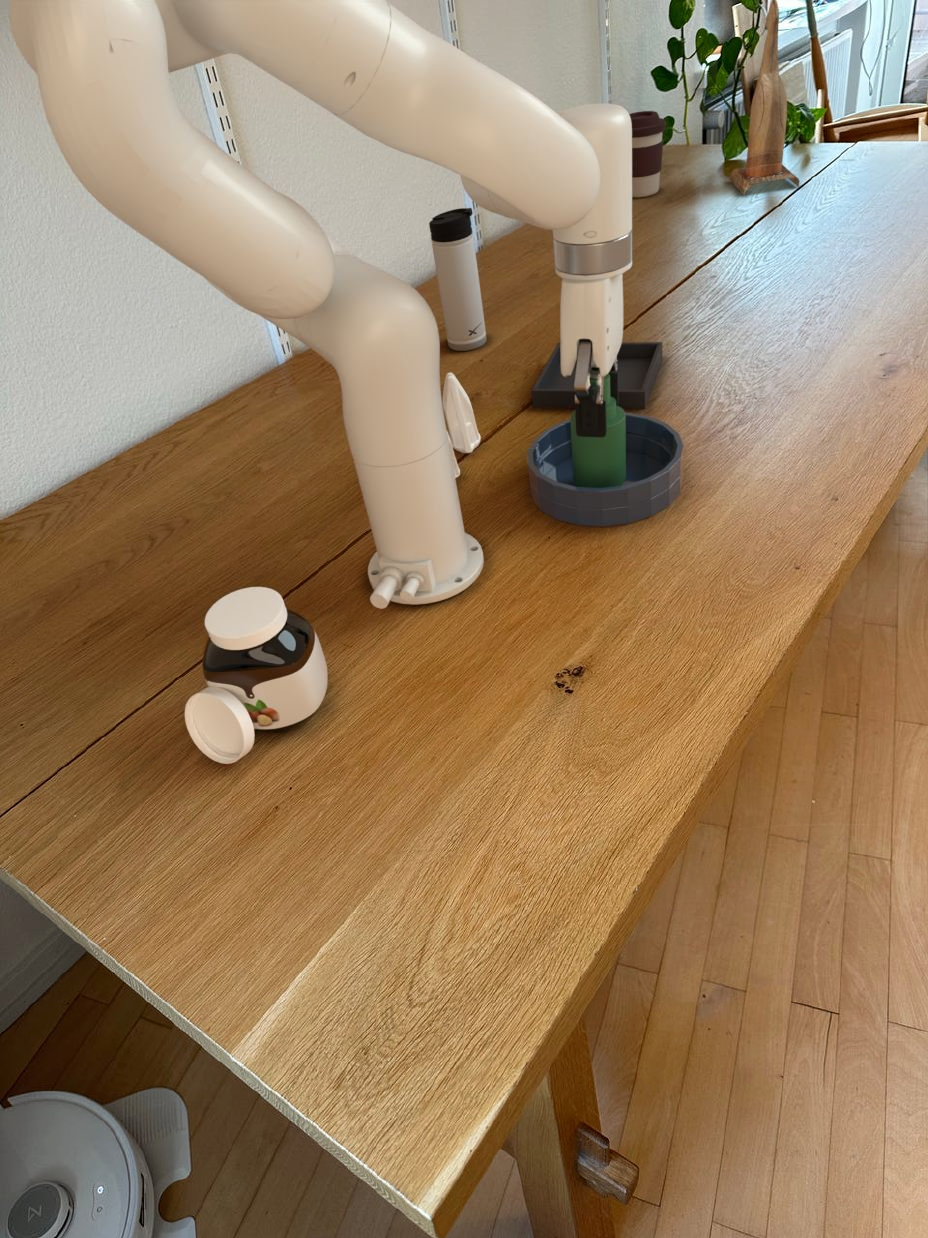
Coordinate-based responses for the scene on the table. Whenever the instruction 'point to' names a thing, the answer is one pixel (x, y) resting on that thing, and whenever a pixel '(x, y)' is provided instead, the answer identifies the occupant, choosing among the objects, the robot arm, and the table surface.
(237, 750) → the spread jar
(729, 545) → the table surface
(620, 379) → the tray
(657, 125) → the coffee cup
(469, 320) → the travel mug
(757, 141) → the bird sculpture
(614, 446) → the bottle
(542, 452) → the bowl
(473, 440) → the white fin shape
